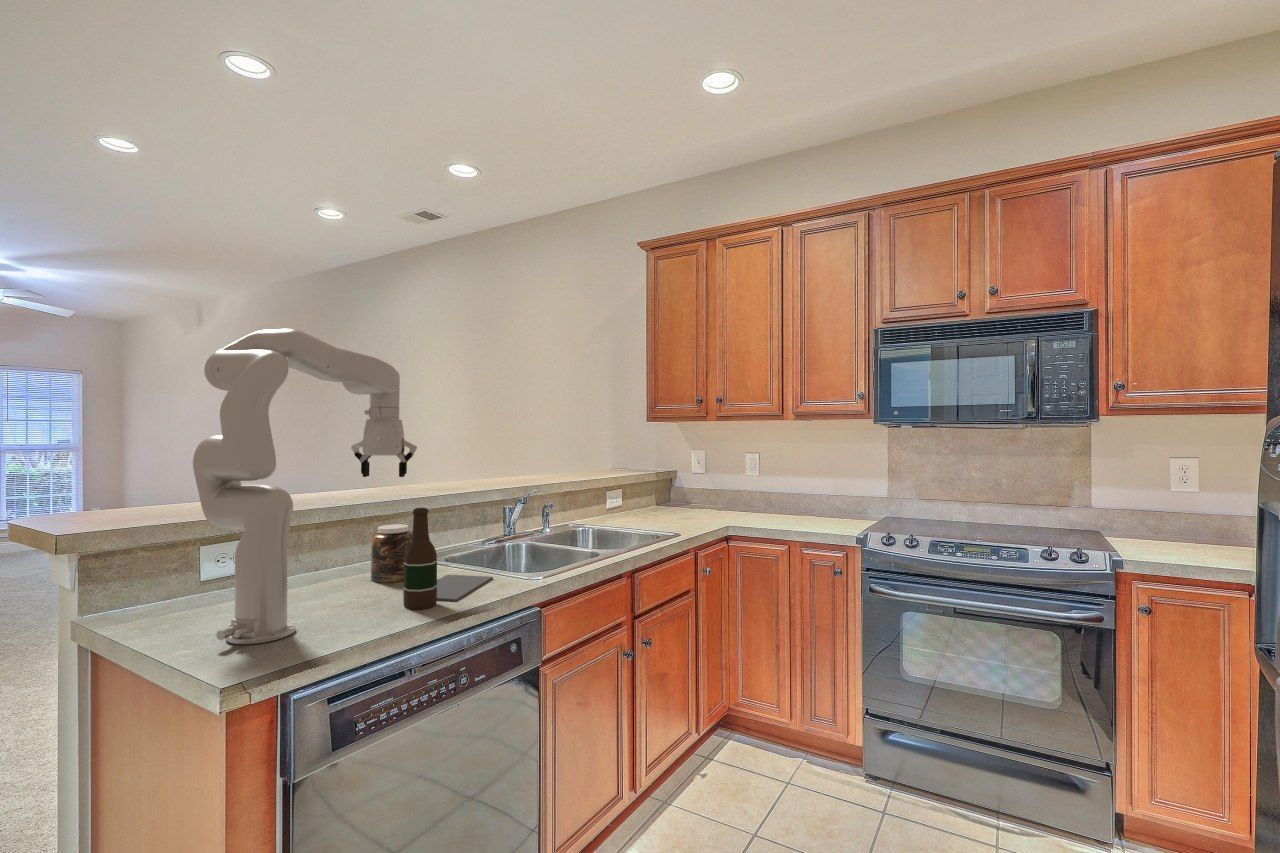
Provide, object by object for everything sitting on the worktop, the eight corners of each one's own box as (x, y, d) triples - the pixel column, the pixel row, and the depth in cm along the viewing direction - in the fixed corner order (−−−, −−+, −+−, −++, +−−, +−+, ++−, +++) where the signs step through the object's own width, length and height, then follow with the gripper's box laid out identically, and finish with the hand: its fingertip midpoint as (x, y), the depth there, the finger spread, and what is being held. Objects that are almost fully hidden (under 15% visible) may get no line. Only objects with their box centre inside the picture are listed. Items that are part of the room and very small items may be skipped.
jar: (376, 574, 188) (376, 523, 188) (417, 572, 190) (417, 522, 190) (366, 583, 177) (366, 530, 177) (410, 582, 179) (410, 529, 179)
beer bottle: (443, 603, 157) (444, 507, 157) (420, 611, 150) (421, 511, 150) (419, 599, 160) (420, 505, 160) (396, 607, 153) (396, 509, 153)
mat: (456, 601, 159) (456, 599, 159) (404, 598, 161) (404, 596, 161) (492, 578, 183) (492, 576, 183) (447, 576, 185) (447, 574, 185)
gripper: (346, 413, 169) (346, 477, 169) (412, 414, 170) (412, 477, 170) (357, 414, 176) (356, 475, 176) (420, 415, 177) (419, 475, 177)
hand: (384, 476), depth 173 cm, fingers open, 9 cm apart
